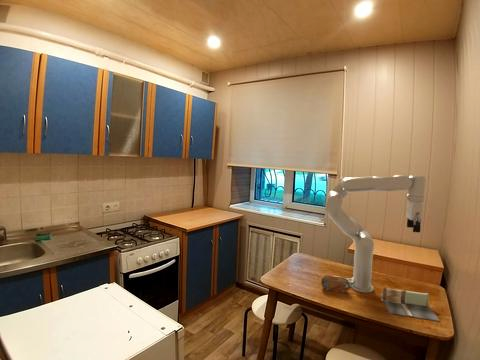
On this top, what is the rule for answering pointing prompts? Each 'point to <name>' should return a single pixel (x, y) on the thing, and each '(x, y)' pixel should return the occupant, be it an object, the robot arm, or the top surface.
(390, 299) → the base
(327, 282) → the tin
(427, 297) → the bar
